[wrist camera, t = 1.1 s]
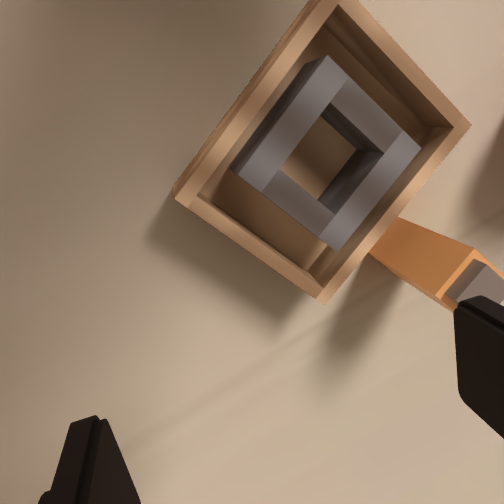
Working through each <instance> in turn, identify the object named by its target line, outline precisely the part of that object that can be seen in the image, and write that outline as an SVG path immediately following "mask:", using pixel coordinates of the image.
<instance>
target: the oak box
mask: <svg viewBox="0 0 504 504" xmlns="http://www.w3.org/2000/svg"><path fill="white" fill-rule="evenodd" d="M471 126H472V125H471V124H470V123H469V121H468V120H467V119H466V118H465V117H464V116H463V115H462V114H461V113H460V112H459V110H458V109H457V108H456V107H455V106H454V105H453V104H452V103H451V102H450V101H449V100H448V98H447V97H446V96H445V95H444V94H443V93H442V92H441V91H440V90H439V89H438V88H437V86H436V85H435V84H434V83H433V82H432V81H431V80H430V79H429V78H428V77H427V76H426V74H425V73H424V72H423V71H422V70H421V69H420V68H419V67H418V66H417V65H416V64H415V62H414V61H413V60H412V59H411V58H410V57H409V56H408V55H407V54H406V53H405V52H404V50H403V49H402V48H401V47H400V46H399V45H398V44H397V43H396V42H395V41H394V39H393V38H392V37H391V36H390V35H389V34H388V33H387V32H386V31H385V30H384V29H383V27H382V26H381V25H380V24H379V23H378V22H377V21H376V20H375V19H374V18H373V17H372V15H371V14H370V13H369V12H368V11H367V10H366V9H365V8H364V7H363V6H362V5H361V3H360V2H359V1H358V0H309V2H308V3H307V4H306V6H305V7H304V8H303V10H302V11H301V12H300V14H299V15H298V17H297V18H296V19H295V21H294V22H293V23H292V25H291V26H290V28H289V29H288V30H287V32H286V33H285V34H284V36H283V37H282V38H281V40H280V41H279V43H278V44H277V45H276V47H275V48H274V49H273V51H272V52H271V54H270V55H269V56H268V58H267V59H266V60H265V62H264V63H263V64H262V66H261V67H260V69H259V70H258V71H257V73H256V74H255V75H254V77H253V78H252V80H251V81H250V82H249V84H248V85H247V86H246V88H245V89H244V91H243V92H242V93H241V95H240V96H239V97H238V99H237V100H236V101H235V103H234V104H233V106H232V107H231V108H230V110H229V111H228V112H227V114H226V115H225V117H224V118H223V119H222V121H221V122H220V123H219V125H218V126H217V127H216V129H215V130H214V132H213V133H212V134H211V136H210V137H209V138H208V140H207V141H206V143H205V144H204V145H203V147H202V148H201V149H200V151H199V152H198V153H197V155H196V156H195V158H194V159H193V160H192V162H191V163H190V164H189V166H188V167H187V169H186V170H185V171H184V173H183V174H182V175H181V177H180V178H179V179H178V181H177V182H176V184H175V185H174V186H173V193H174V199H175V200H177V201H178V202H179V203H181V204H182V205H184V206H185V207H186V208H188V209H189V210H191V211H192V212H194V213H195V214H196V215H198V216H199V217H201V218H202V219H203V220H205V221H206V222H208V223H209V224H210V225H212V226H213V227H215V228H216V229H218V230H219V231H220V232H222V233H223V234H225V235H226V236H227V237H229V238H230V239H232V240H233V241H234V242H236V243H237V244H239V245H240V246H242V247H243V248H244V249H246V250H247V251H249V252H250V253H251V254H253V255H254V256H256V257H257V258H259V259H260V260H261V261H263V262H264V263H266V264H267V265H268V266H270V267H271V268H273V269H274V270H275V271H277V272H278V273H280V274H281V275H283V276H284V277H285V278H287V279H288V280H290V281H291V282H292V283H294V284H295V285H297V286H298V287H299V288H301V289H302V290H304V291H305V292H307V293H308V294H309V295H311V296H312V297H314V298H315V299H316V300H318V301H319V302H321V303H322V304H323V305H326V303H327V302H328V301H329V300H330V298H331V297H332V296H333V295H334V293H335V292H336V291H337V290H338V289H339V287H340V286H341V285H342V284H343V282H344V281H345V280H346V279H347V278H348V276H349V275H350V274H351V273H352V271H353V270H354V269H355V268H356V267H357V265H358V264H359V263H360V262H361V260H362V259H363V258H364V257H365V255H366V254H367V253H368V252H369V251H370V249H371V248H372V247H373V246H374V244H375V243H376V242H377V241H378V240H379V238H380V237H381V236H382V235H383V233H384V232H385V231H386V230H387V229H388V227H389V226H390V225H391V224H392V222H393V221H394V220H395V219H396V217H397V216H398V215H399V214H400V213H401V211H402V210H403V209H404V208H405V206H406V205H407V204H408V203H409V202H410V200H411V199H412V198H413V197H414V195H415V194H416V193H417V192H418V191H419V189H420V188H421V187H422V186H423V184H424V183H425V182H426V181H427V179H428V178H429V177H430V176H431V175H432V173H433V172H434V171H435V170H436V168H437V167H438V166H439V165H440V164H441V162H442V161H443V160H444V159H445V157H446V156H447V155H448V154H449V152H450V151H451V150H452V149H453V148H454V146H455V145H456V144H457V143H458V141H459V140H460V139H461V138H462V137H463V135H464V134H465V133H466V132H467V130H468V129H469V128H470V127H471Z"/></svg>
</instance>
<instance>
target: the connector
mask: <svg viewBox="0 0 504 504" xmlns="http://www.w3.org/2000/svg"><path fill="white" fill-rule="evenodd" d="M368 253H369V254H370V255H372V256H373V257H374V258H375V259H377V260H378V261H379V262H380V263H382V264H383V265H384V266H385V267H387V268H388V269H389V270H390V271H392V272H393V273H394V274H395V275H397V276H398V277H400V278H401V279H403V280H404V281H406V282H407V283H409V284H410V285H412V286H413V287H415V288H416V289H418V290H419V291H421V292H422V293H424V294H425V295H427V296H428V297H430V298H431V299H433V300H434V301H436V302H437V303H439V304H440V305H442V306H443V307H445V308H446V309H448V310H449V311H451V312H452V313H454V310H455V309H456V308H457V305H458V303H459V302H460V301H462V300H466V299H469V298H472V297H475V296H479V295H482V296H485V297H487V298H489V299H490V300H492V301H494V302H496V303H498V304H500V303H501V302H502V301H503V299H504V275H503V274H501V273H500V272H499V271H498V270H497V269H496V268H495V267H494V266H493V265H492V264H491V263H490V262H489V261H487V260H486V259H485V258H484V257H483V256H482V255H481V254H480V253H479V252H478V251H477V250H476V249H475V248H472V247H470V246H467V245H465V244H462V243H460V242H458V241H455V240H453V239H450V238H448V237H446V236H443V235H441V234H438V233H436V232H433V231H431V230H429V229H426V228H424V227H421V226H419V225H416V224H414V223H412V222H409V221H407V220H404V219H402V218H400V217H396V219H395V220H394V221H393V222H392V224H391V225H390V226H389V227H388V229H387V230H386V231H385V232H384V233H383V235H382V236H381V237H380V238H379V240H378V241H377V242H376V243H375V244H374V246H373V247H372V248H371V249H370V251H369V252H368Z"/></svg>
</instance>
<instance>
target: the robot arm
mask: <svg viewBox="0 0 504 504" xmlns="http://www.w3.org/2000/svg"><path fill="white" fill-rule="evenodd" d="M453 315H454V330H455V346H456V362H457V378H458V390H459V394H460V396H461V398H462V400H463V401H464V403H465V404H466V405H467V406H468V407H470V408H471V409H472V410H473V411H474V412H475V413H476V414H477V415H478V416H479V417H480V418H482V419H483V420H484V421H485V422H486V423H487V424H488V425H489V426H490V427H491V428H492V429H494V430H495V431H496V432H497V433H498V434H499V435H500V436H501V437H502V438H503V439H504V306H502V305H500V304H498V303H496V302H494V301H492V300H490V299H489V298H487V297H485V296H482V295H479V296H475V297H472V298H469V299H466V300H462V301H460V302H459V303H458V305H457V308H456V309H455V310H454V314H453ZM38 504H141V502H140V499H139V496H138V494H137V491H136V489H135V486H134V484H133V481H132V479H131V476H130V474H129V471H128V469H127V466H126V464H125V462H124V459H123V457H122V454H121V452H120V449H119V447H118V444H117V442H116V439H115V437H114V434H113V432H112V430H111V427H110V425H109V422H108V421H107V419H102V420H100V419H99V418H98V417H97V416H96V415H94V416H91V417H88V418H85V419H82V420H78V421H75V422H72V423H71V425H70V427H69V430H68V433H67V437H66V440H65V443H64V447H63V450H62V453H61V457H60V460H59V464H58V467H57V470H56V474H55V477H54V480H53V484H52V487H51V490H50V491H47V492H45V493H44V494H43V495H42V496H41V498H40V500H39V502H38Z"/></svg>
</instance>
